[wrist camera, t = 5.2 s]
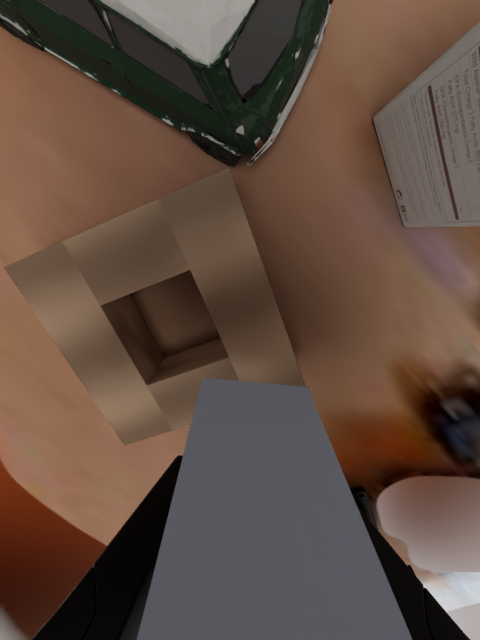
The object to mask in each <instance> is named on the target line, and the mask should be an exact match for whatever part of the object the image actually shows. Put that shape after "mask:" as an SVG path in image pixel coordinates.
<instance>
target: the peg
mask: <svg viewBox="0 0 480 640" xmlns="http://www.w3.org/2000/svg"><path fill="white" fill-rule="evenodd" d="M137 640H412V638H411V635H410V633H409V630H408V628H407V625H406V623H405V621H404V618H403V616H402V613H401V611H400V609H399V606H398V604H397V601H396V599H395V597H394V594H393V592H392V589H391V587H390V585H389V582H388V580H387V577H386V575H385V573H384V570H383V568H382V565H381V563H380V560H379V558H378V556H377V553H376V551H375V548H374V546H373V544H372V541H371V539H370V536H369V534H368V532H367V529H366V527H365V524H364V522H363V520H362V517H361V515H360V512H359V510H358V507H357V505H356V503H355V500H354V498H353V495H352V493H351V491H350V488H349V486H348V483H347V481H346V479H345V476H344V474H343V471H342V469H341V467H340V464H339V462H338V459H337V457H336V455H335V452H334V450H333V447H332V445H331V442H330V440H329V438H328V435H327V433H326V430H325V428H324V426H323V423H322V421H321V418H320V416H319V414H318V411H317V409H316V406H315V404H314V402H313V399H312V397H311V394H310V392H309V390H308V387H301V386H290V385H279V384H268V383H257V382H246V381H235V380H224V379H213V378H203V379H202V383H201V387H200V391H199V395H198V399H197V403H196V407H195V411H194V415H193V419H192V423H191V427H190V431H189V435H188V438H187V442H186V446H185V450H184V454H183V458H182V462H181V466H180V470H179V474H178V478H177V482H176V486H175V490H174V494H173V498H172V502H171V506H170V510H169V514H168V518H167V522H166V526H165V530H164V534H163V538H162V542H161V546H160V550H159V554H158V558H157V562H156V566H155V570H154V574H153V578H152V582H151V586H150V590H149V594H148V598H147V601H146V605H145V609H144V613H143V617H142V621H141V625H140V629H139V633H138V637H137Z"/></svg>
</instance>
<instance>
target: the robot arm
mask: <svg viewBox="0 0 480 640" xmlns="http://www.w3.org/2000/svg"><path fill="white" fill-rule="evenodd" d="M182 458H183V456H181V455H180V456H177V457H176V458H175V460H174V461H173V462H172V463H171V465H170V466H169V467H168V469H167V470H166V471H165V472H164V474H163V475H162V476H161V478H160V479H159V480H158V481H157V483H156V484H155V485H154V487H153V488H152V489H151V491H150V492H149V493H148V494H147V496H146V497H145V498H144V500H143V501H142V502H141V503H140V505H139V506H138V507H137V509H136V510H135V511H134V512H133V514H132V515H131V516H130V518H129V519H128V520H127V521H126V523H125V524H124V525H123V527H122V528H121V529H120V530H119V532H118V533H117V534H116V536H115V537H114V538H113V540H112V541H111V542H110V543H109V545H108V546H107V547H106V549H105V550H104V551H103V553H102V554H101V555H100V556H99V558H98V559H97V560H96V561H95V563H94V564H93V567H91V568H90V569H89V570H88V572H87V573H86V574H85V575H84V577H83V578H82V579H81V581H80V582H79V583H78V584H77V586H76V587H75V588H74V590H73V591H72V592H71V593H70V594H69V596H68V597H67V598H66V599H65V601H64V602H63V603H62V604H61V605H60V607H59V608H58V609H57V611H56V612H55V613H54V614H53V615H52V616H51V617H50V619H49V620H48V621H47V622H46V623H45V624H44V625H43V627H42V628H41V629H40V630H39V631H38V632H37V634H36V635H35V636H34V637H33V638H32V639H31V640H137V637H138V633H139V629H140V625H141V621H142V617H143V613H144V609H145V605H146V601H147V598H148V594H149V590H150V586H151V582H152V578H153V574H154V570H155V566H156V562H157V558H158V554H159V550H160V546H161V542H162V538H163V534H164V530H165V526H166V522H167V518H168V514H169V510H170V506H171V502H172V498H173V494H174V490H175V486H176V482H177V478H178V474H179V470H180V466H181V462H182ZM350 491H351V493H352V495H353V498H354V500H355V503H356V505H357V507H358V510H359V512H360V515H361V517H362V520H363V522H364V524H365V527H366V529H367V532H368V534H369V536H370V539H371V541H372V544H373V546H374V548H375V551H376V553H377V556H378V558H379V560H380V563H381V565H382V568H383V570H384V573H385V575H386V577H387V580H388V582H389V585H390V587H391V589H392V592H393V594H394V597H395V599H396V601H397V604H398V606H399V609H400V611H401V613H402V616H403V618H404V621H405V623H406V625H407V628H408V630H409V633H410V635H411V638H412V640H470V639H469V638H468V637H467V636H466V635H465V634H464V633H463V631H462V630H461V629H460V628H459V627H458V626H457V624H456V623H455V622H454V621H453V620H452V619H451V617H450V616H449V615H448V614H447V613H446V612H445V610H444V609H443V608H442V607H441V606H440V604H439V603H438V602H437V601H436V600H435V598H434V597H433V596H432V595H431V594H430V592H429V591H428V590H427V589H426V588H423V584H422V583H421V582H420V581H419V579H418V578H417V577H416V575H415V573H414V571H413V570H412V568H411V566H410V565H408V566H407V565H406V564H405V563H404V561H403V560H402V559H401V558H400V557H399V555H398V554H397V553H396V552H395V551H394V549H393V548H392V547H391V546H390V545H389V543H388V542H387V541H386V540H385V539H384V537H383V536H382V535H381V534H380V533H379V531H378V528H377V525H376V522H375V518H374V515H373V512H372V509H371V506H370V502H369V499H368V496H367V493H366V491H365V489H364V488H357V489H353V490H350Z"/></svg>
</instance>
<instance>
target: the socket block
mask: <svg viewBox="0 0 480 640" xmlns="http://www.w3.org/2000/svg"><path fill="white" fill-rule="evenodd" d="M4 268H5V270H6V271H7V273H8V274H9V276H10V277H11V279H12V280H13V282H14V283H15V285H16V286H17V288H18V289H19V291H20V292H21V294H22V295H23V296H24V298H25V299H26V301H27V302H28V304H29V305H30V307H31V308H32V310H33V311H34V313H35V314H36V316H37V317H38V319H39V320H40V322H41V323H42V325H43V326H44V327H45V329H46V330H47V332H48V333H49V335H50V336H51V338H52V339H53V341H54V342H55V344H56V345H57V347H58V348H59V350H60V351H61V353H62V354H63V356H64V357H65V358H66V360H67V361H68V363H69V364H70V366H71V367H72V369H73V370H74V372H75V373H76V375H77V376H78V378H79V379H80V381H81V382H82V384H83V385H84V387H85V388H86V389H87V391H88V392H89V394H90V395H91V397H92V398H93V400H94V401H95V403H96V404H97V406H98V407H99V409H100V410H101V412H102V413H103V415H104V416H105V418H106V419H107V420H108V422H109V423H110V425H111V426H112V428H113V429H114V431H115V432H116V434H117V435H118V437H119V438H120V440H121V441H122V443H123V444H124V445H127V444H130V443H133V442H137V441H140V440H143V439H146V438H149V437H153V436H156V435H159V434H162V433H165V432H169V431H172V430H175V429H178V428H181V427H185V426H188V425H191V423H192V419H193V415H194V411H195V407H196V403H197V399H198V395H199V391H200V387H201V383H202V379H203V378H213V379H224V380H235V381H246V382H257V383H268V384H279V385H290V386H301V387H306V386H305V383H304V380H303V377H302V374H301V372H300V369H299V366H298V363H297V360H296V357H295V355H294V352H293V349H292V346H291V343H290V340H289V337H288V335H287V332H286V329H285V326H284V323H283V320H282V317H281V315H280V312H279V309H278V306H277V303H276V300H275V297H274V295H273V292H272V289H271V286H270V283H269V280H268V278H267V275H266V272H265V269H264V266H263V263H262V260H261V258H260V255H259V252H258V249H257V246H256V243H255V240H254V238H253V235H252V232H251V229H250V226H249V223H248V220H247V218H246V215H245V212H244V209H243V206H242V203H241V201H240V198H239V195H238V192H237V189H236V186H235V183H234V181H233V178H232V175H231V172H230V169H229V167H228V168H226V169H224V170H221V171H219V172H217V173H215V174H212V175H210V176H208V177H206V178H203V179H201V180H199V181H197V182H194V183H192V184H190V185H188V186H185V187H183V188H181V189H179V190H176V191H174V192H172V193H170V194H167V195H165V196H163V197H161V198H158V199H156V200H154V201H152V202H149V203H147V204H145V205H143V206H140V207H138V208H136V209H134V210H131V211H129V212H127V213H125V214H122V215H120V216H118V217H116V218H113V219H111V220H109V221H107V222H104V223H102V224H100V225H98V226H95V227H93V228H91V229H89V230H86V231H84V232H82V233H80V234H77V235H75V236H73V237H71V238H68V239H66V240H64V241H62V242H60V243H57V244H55V245H53V246H51V247H48V248H46V249H44V250H42V251H39V252H37V253H35V254H33V255H30V256H28V257H26V258H24V259H21V260H19V261H17V262H15V263H12V264H10V265H8V266H6V267H4ZM189 270H190V271H191V273H192V275H193V277H194V280H195V282H196V284H197V286H198V289H199V291H200V293H201V295H202V298H203V300H204V302H205V304H206V307H207V309H208V311H209V313H210V316H211V318H212V320H213V322H214V325H215V327H216V329H217V331H218V334H219V336H220V338H219V339H216V340H213V341H210V342H207V343H205V344H202V345H199V346H196V347H193V348H191V349H188V350H185V351H182V352H179V353H176V354H174V355H171V356H168V357H165V358H164V357H163V355H162V353H161V351H160V350H159V348H158V346H157V344H156V342H155V340H154V338H153V337H152V335H151V333H150V331H149V329H148V327H147V325H146V324H145V322H144V320H143V318H142V316H141V314H140V312H139V310H138V309H137V307H136V305H135V303H134V301H133V299H132V297H131V296H130V294H131V293H134V292H136V291H139V290H141V289H144V288H146V287H149V286H151V285H154V284H156V283H159V282H161V281H164V280H166V279H169V278H171V277H174V276H176V275H179V274H181V273H184V272H186V271H189Z"/></svg>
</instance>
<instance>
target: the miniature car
mask: <svg viewBox="0 0 480 640" xmlns="http://www.w3.org/2000/svg"><path fill="white" fill-rule="evenodd" d="M332 2H333V0H0V26H1V27H3V28H4V29H6V30H7V31H8V32H10V33H11V34H13V35H14V36H15V37H17V38H19V39H21V40H22V41H24V42H26V43H28V44H29V45H31V46H34V47H36V48H38V49H40V50H42V51H43V48H44V49H45V50H47V51H48V52H50V53H52V54H53V55H55V56H57V57H58V58H60V59H62V60H63V61H65V62H67V63H68V64H70V65H72V66H73V67H75V68H77V69H78V70H80V71H82V72H83V73H85V74H87V75H88V76H90V77H92V78H93V79H95V80H97V81H98V82H100V83H102V84H103V85H105V86H107V87H108V88H110V89H112V90H113V91H115V92H117V93H118V94H120V95H122V96H123V97H125V98H127V99H128V100H130V101H132V102H133V103H135V104H137V105H138V106H140V107H142V108H143V109H145V110H147V111H148V112H150V113H152V114H153V115H155V116H157V117H158V118H160V119H161V120H163V121H165V122H166V123H168V124H170V125H171V126H173V127H175V128H176V129H178V130H180V131H191V132H190V134H189V136H190V137H191V139H192V141H193V142H194V143H195V144H196V145H197V146H199V147H200V148H201V149H202V150H203V151H205V152H206V153H207V154H208V155H211V156H212V157H213V158H215V159H217V160H219V161H221V162H223V163H224V164H226V165H230V166H235V165H236V163H237V161H238V159H239V157H240V156H244V155H243V154H242V153H244V154H245V153H247V154H251V155H252V154H253V153H254V152H255V151H256V150H257V149H258V150H259V151H258V152H257V153H256V155H255V156H254V157H253V158H252V159H251V161H250V162H247V165H248V166H250V165H251V164H252V163H253V162H254V161H255V160H256V159H257V158H258V157H259V156H260V155H261V154H262V153H263V152H264V151H265V150H266V149H267V148H268V147H269V146H270V145H271V144H272V143H273V142H274V140H275V138H276V136H277V134H278V132H279V131H280V129H281V127H282V125H283V123H284V121H285V120H286V118H287V116H288V114H289V112H290V110H291V108H292V107H293V105H294V103H295V101H296V99H297V97H298V95H299V93H300V91H301V89H302V87H303V85H304V82H305V80H306V78H307V76H308V73H309V71H310V69H311V67H312V65H313V62H314V60H315V58H316V56H317V53H318V51H319V48H320V45H321V42H322V39H323V36H324V32H325V29H326V26H327V22H328V19H329V16H330V12H331V5H332ZM312 48H313V49H312ZM311 50H312V51H311ZM310 52H311V53H310ZM309 55H310V56H309ZM308 57H309V58H308ZM297 82H298V83H297ZM296 83H297V85H296ZM295 85H296V87H295ZM294 87H295V89H294ZM293 89H294V92H293V94H292V96H291V97H290V95H291V93H292V91H293ZM289 97H290V99H289ZM288 99H289V101H288ZM287 101H288V103H287ZM286 103H287V105H286V107H285V108H284V106H285V104H286ZM283 108H284V110H283ZM282 110H283V112H282ZM281 112H282V114H281ZM280 115H281V116H280ZM277 120H278V121H277ZM276 122H277V123H276ZM275 124H276V125H275ZM274 125H275V127H274ZM273 127H274V128H273ZM272 129H273V130H272ZM271 131H272V132H271ZM270 133H271V134H270ZM269 135H270V136H269ZM268 136H269V138H268V140H267V141H266V142H265V143H264V145H263V142H264V141H265V139H266V138H267V137H268Z"/></svg>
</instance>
